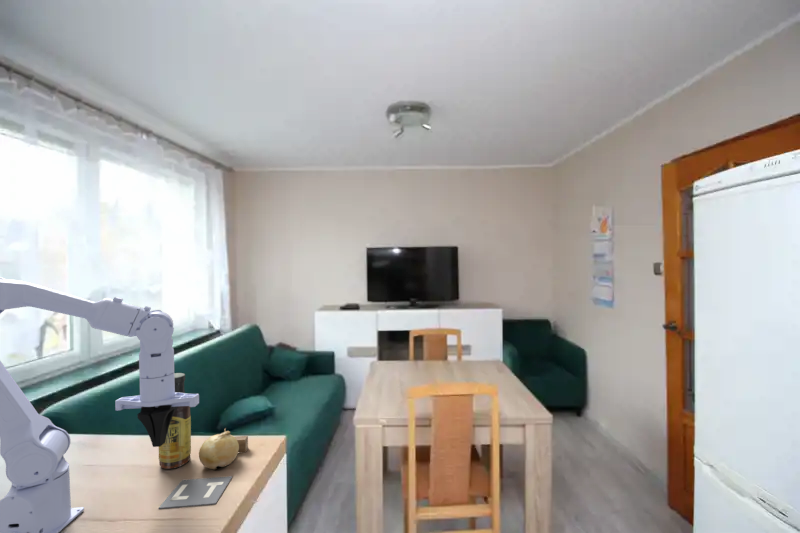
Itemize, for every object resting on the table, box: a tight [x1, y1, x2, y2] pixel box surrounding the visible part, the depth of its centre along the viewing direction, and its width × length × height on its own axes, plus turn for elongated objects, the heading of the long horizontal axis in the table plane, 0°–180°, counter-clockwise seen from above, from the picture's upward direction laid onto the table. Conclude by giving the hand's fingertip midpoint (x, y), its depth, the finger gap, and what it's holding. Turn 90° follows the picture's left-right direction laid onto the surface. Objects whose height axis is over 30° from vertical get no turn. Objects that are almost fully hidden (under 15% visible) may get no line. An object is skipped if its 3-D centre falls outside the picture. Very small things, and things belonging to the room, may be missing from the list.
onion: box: [198, 427, 239, 470], centre depth 86 cm, size 8×8×7 cm
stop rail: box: [234, 435, 249, 453], centre depth 91 cm, size 2×9×3 cm, turn 95°
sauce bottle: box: [158, 372, 192, 470], centre depth 86 cm, size 7×6×20 cm
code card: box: [158, 475, 233, 510], centre depth 75 cm, size 9×10×1 cm
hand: (159, 444), depth 75 cm, fingers closed
